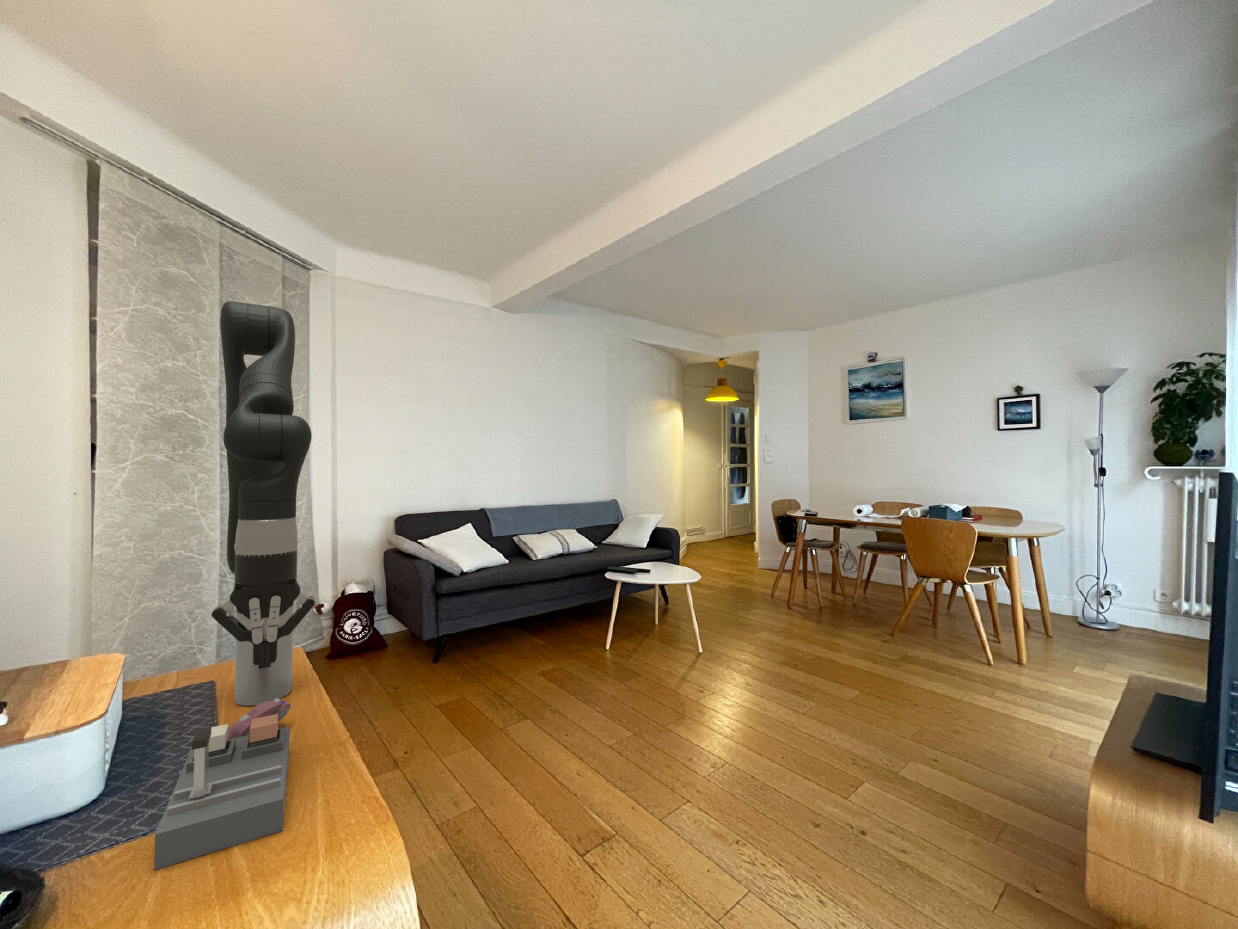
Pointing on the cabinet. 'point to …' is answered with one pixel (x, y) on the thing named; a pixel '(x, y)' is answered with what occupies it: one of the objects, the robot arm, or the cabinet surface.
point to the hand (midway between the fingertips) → (264, 666)
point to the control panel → (226, 800)
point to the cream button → (218, 737)
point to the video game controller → (258, 716)
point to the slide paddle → (201, 764)
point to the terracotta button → (264, 728)
